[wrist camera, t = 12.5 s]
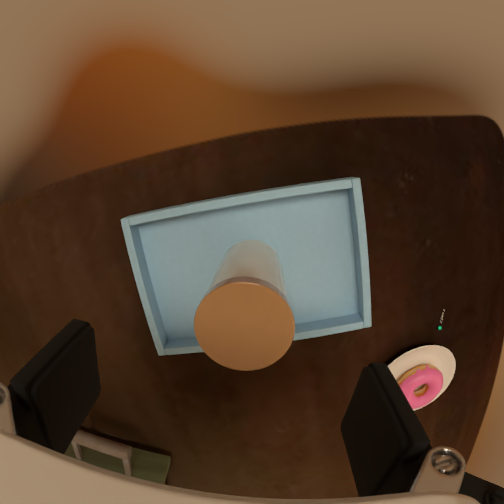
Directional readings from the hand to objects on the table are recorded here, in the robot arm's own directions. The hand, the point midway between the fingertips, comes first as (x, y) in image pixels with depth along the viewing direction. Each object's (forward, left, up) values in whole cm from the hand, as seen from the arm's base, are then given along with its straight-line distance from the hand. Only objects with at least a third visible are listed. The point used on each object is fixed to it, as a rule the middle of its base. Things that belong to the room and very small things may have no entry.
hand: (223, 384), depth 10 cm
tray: (0, 0, -14) cm, 14 cm away
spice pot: (0, 0, -13) cm, 13 cm away
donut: (+17, -7, -14) cm, 23 cm away
